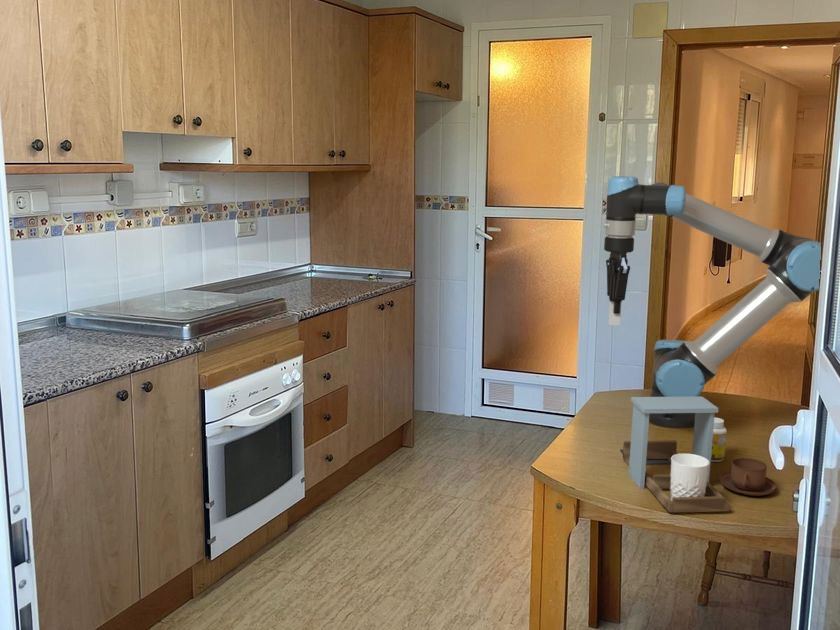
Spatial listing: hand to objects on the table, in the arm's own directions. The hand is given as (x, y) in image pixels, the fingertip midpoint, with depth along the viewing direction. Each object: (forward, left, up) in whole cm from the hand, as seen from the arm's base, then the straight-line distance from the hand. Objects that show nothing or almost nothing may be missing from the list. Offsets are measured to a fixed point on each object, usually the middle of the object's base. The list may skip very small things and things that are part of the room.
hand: (614, 324), depth 223 cm
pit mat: (+4, +21, -29) cm, 36 cm away
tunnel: (+9, +35, -29) cm, 47 cm away
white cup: (+14, +46, -30) cm, 57 cm away
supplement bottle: (-11, +28, -30) cm, 42 cm away
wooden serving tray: (+10, +37, -29) cm, 48 cm away
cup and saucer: (-5, +45, -30) cm, 54 cm away
